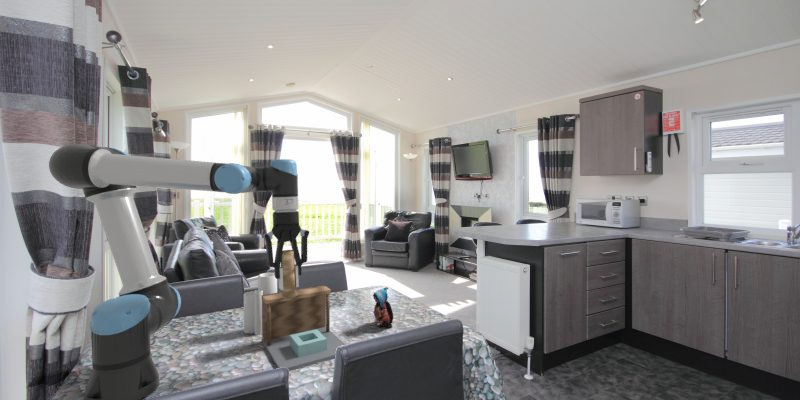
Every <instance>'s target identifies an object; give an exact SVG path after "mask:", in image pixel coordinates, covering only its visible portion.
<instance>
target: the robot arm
mask: <svg viewBox="0 0 800 400" xmlns="http://www.w3.org/2000/svg"><path fill="white" fill-rule="evenodd" d="M48 161H49V162H48V168H49V172H50V174H51V176H52V177H53V178H54V179H55V181H57V182H58V183H59V184H61V185H63V186H65V187H67V188H71V189H78V190H82V192H83V194H84V198H85V200H86V201H88V202H91V203H93V204H94V205H95V208H96V210H97V214H98V216H99V218H100V219H99V220H100V222H101V225H102V228H103V231H104V233H105V236H106V239H107V242H108V246H109V249H110V251H111V254H112V258H113V260H114V263H115V265H116V269H117V272H118V275H119V277H120V280H121V285H122V287H121V289H120V290H119V292H118V296H117V297H115V298H110V299H107V300H105V301H103V302H101V303H100V304H98V305H97V306H95V308H93V310H92V312H91V316H90V317H91V318H90V319H91V320H90V323H89V329H90V334H91V335H90V336H91V337H90V338H91V339H90V341H91V362H92V363H91V365H92V369H91V373H90V375H89V378H88V381H87V384H86V386H85V389H84V392H83V400H138V399H141V398H143V397H145V398H146V397H148V396H150V395H151V394H152V393H154V392H155V391H156V390H157V389H158V387H159V385H160V372H159V370H158V368H157V366H156V364H155V362H154V360H153V358H152V354H151V353H152V352H151V336H153V335H154V334H155V333H156V332H157V331H159V330H160V329H162V328H163V327H165V326H166V325H168V324H169V323H170V322H171V321H173V319H174V318H175V317H176V316H177V315H178V313H179V311H180V310H181V304H182V297H181V295H180V292H179V291H178V289H176V287H173V286H172V285H170V284H169V282H168V278H167V277H166V276H164V275H161V274H159V271H158V268H157V266H156V262H155V260H154V256H153V252H152V251H151V247H150V245H149V241H148V238H147V235H146V231H145V230H144V229H145V228H144V226H143V223H142V221H141V217H140V215H139V211H138V207H137V205H136V202H135V200H134V195H135V194H136V193H137V190H138V188H137V187H145V188H146V187H148V188H149V187H150V188H159V189H161V188H162V189H175V190H179V189H180V190H186V191H187V190H190V191H200V192H201V191H206V192H215V193H216V192H217V193H226V194H229V195H232V194H233V195H238V194H244V193H246V194H247V193H264V192H266V193H268V192H271V201H272V205H271V206H272V208H271V209H272V211H274V212H273V213H272V229H271V231H268V232H267V233H266V232H264V233H263V235H262V236H263V239H264V241H265V249H266V262H267V266H269V267H270V268H273V270H274V273H275V278H276V279H277V282H278V289H279V290H280V291H282V290H283V268H281V257H282V251H283V250H284V246H285V243H287V242H289V243H290V246H291V250H294V260H295V285H296V288H299V287H300V285H299V284H300V282H299V280H300V279H299V276H301V275H302V265H303V264H304V263H307V262H308V238H309V234H310V231H309V230H307V229H302V228H301V226H300V213H299V211H298V210H299V208H300V207H299V186H298V180H299V178H298V168H297V162H296V161H295V160H294V159H287V158H286V159H285V158H284V159H283V158H282V159H281V158H279V159H272V160H270V164H269V165H268V166H247V165H243V164H240V163H234V162H233V163H232V162H230V163H225V162H224V163H223V162H213V161H201V160H190V159H188V160H187V159H179V158H178V159H176V158H166V157H154V156H152V157H151V156H144V155H143V156H141V155H130V154H128V153H126V152H125V151H122V150H119V149H116V148H114V147H106V146H97V145H92V144H87V143H86V144H85V143H70V144H67V145H63V146H60V147H59V148H58V149H56V150H55V151H54V152H53V153H52V155H50V158H49V160H48ZM299 234H300V236H301V237H300V240H301V241H300V247H301V248H300V252H299V247H298V242H297V237H298V236H299ZM273 236H274V237H275V238H276V239H277V241H276V242H277V243H276V251H275V257H274V253H273V252H274V251H273V243H272V240H273ZM153 391H154V392H153ZM150 393H151V394H150ZM143 399H144V398H143ZM141 400H142V399H141Z"/></svg>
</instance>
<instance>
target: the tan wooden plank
mask: <svg viewBox="0 0 800 400" xmlns="http://www.w3.org/2000/svg"><path fill="white" fill-rule="evenodd" d="M330 294H332V289H331V288H329V287H328V286H326V285H319V286H312V287H311V288H310V287H306V288H299V289H296V297H294V298H289V299H284V298H282V291H279V292H277V293H272V294H266V295H262V334H261V342H262V341H265V340H267V346H271V339H274V338H278V337H283V336H287V335H292V334H296V333H301V332H305V331H310V330H314V329H319V328H323V327H326V332H330V331H331V330H330V328H331V327H330V320H331V319H330V314H331V313H330V312H331V311H330V305H331V304H330Z"/></svg>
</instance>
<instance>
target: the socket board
mask: <svg viewBox="0 0 800 400" xmlns="http://www.w3.org/2000/svg"><path fill="white" fill-rule="evenodd" d="M261 343H262V344H263V346H264V348H265V350H266V351H267V352H268V355H269V356H270V358H271V359H272V361H273V363H274V364H275V366H276V368H277V369H278V368H280V367H287V368H288V369H289V371H288V372H290V371H294V370H297V369H301V368H304V367H308V366H311V365H316V364H318V363H323V362H326V361H329V360H333V359H336V358H335V351H336V348H337V347H338V346H341V345H347V344H346V343H345V342H344V341H342V340H341V338H339V337H338V336H337V335H336V334H334V332H332V331H331V330H330V332H326V327H323V328H319V329H314V330H310V331H305V332H301V333H296V334H292V335H287V336H283V337H278V338H274V339H271V346H267V340H265V341H262V340H261Z"/></svg>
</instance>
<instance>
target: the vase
mask: <svg viewBox="0 0 800 400" xmlns="http://www.w3.org/2000/svg"><path fill="white" fill-rule="evenodd" d="M257 278H258V283H257V284H258V289H254V290H252V291H247V292H244V293H243V333H244V334H254V335H255V336H258V335H259V336H260V335H262V295H266V294H272V293H278V279H276V278H275V272H263V273H259V274H258V277H257Z"/></svg>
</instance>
